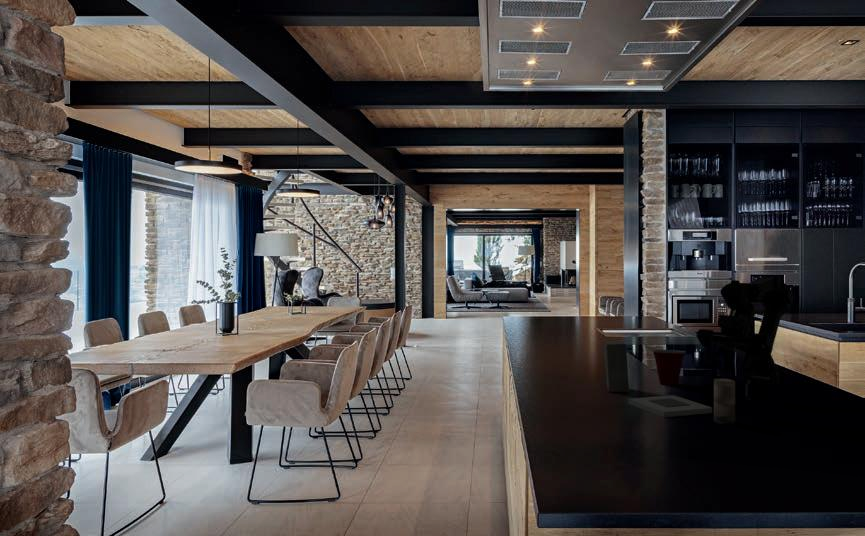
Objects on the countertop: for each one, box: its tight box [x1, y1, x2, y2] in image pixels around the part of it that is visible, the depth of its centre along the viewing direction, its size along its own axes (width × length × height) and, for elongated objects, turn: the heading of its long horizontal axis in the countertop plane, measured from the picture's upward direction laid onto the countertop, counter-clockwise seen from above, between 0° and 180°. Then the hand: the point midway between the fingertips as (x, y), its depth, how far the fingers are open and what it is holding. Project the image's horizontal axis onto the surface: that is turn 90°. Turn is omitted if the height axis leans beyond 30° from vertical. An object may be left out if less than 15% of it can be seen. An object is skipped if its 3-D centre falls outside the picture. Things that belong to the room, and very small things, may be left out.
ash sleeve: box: [713, 378, 736, 426], centre depth 155 cm, size 5×5×11 cm
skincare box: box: [604, 341, 630, 393], centre depth 194 cm, size 8×7×16 cm
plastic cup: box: [651, 349, 687, 387], centre depth 203 cm, size 11×11×12 cm
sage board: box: [627, 394, 713, 418], centre depth 170 cm, size 16×16×2 cm
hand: (725, 366), depth 161 cm, fingers open, 9 cm apart
